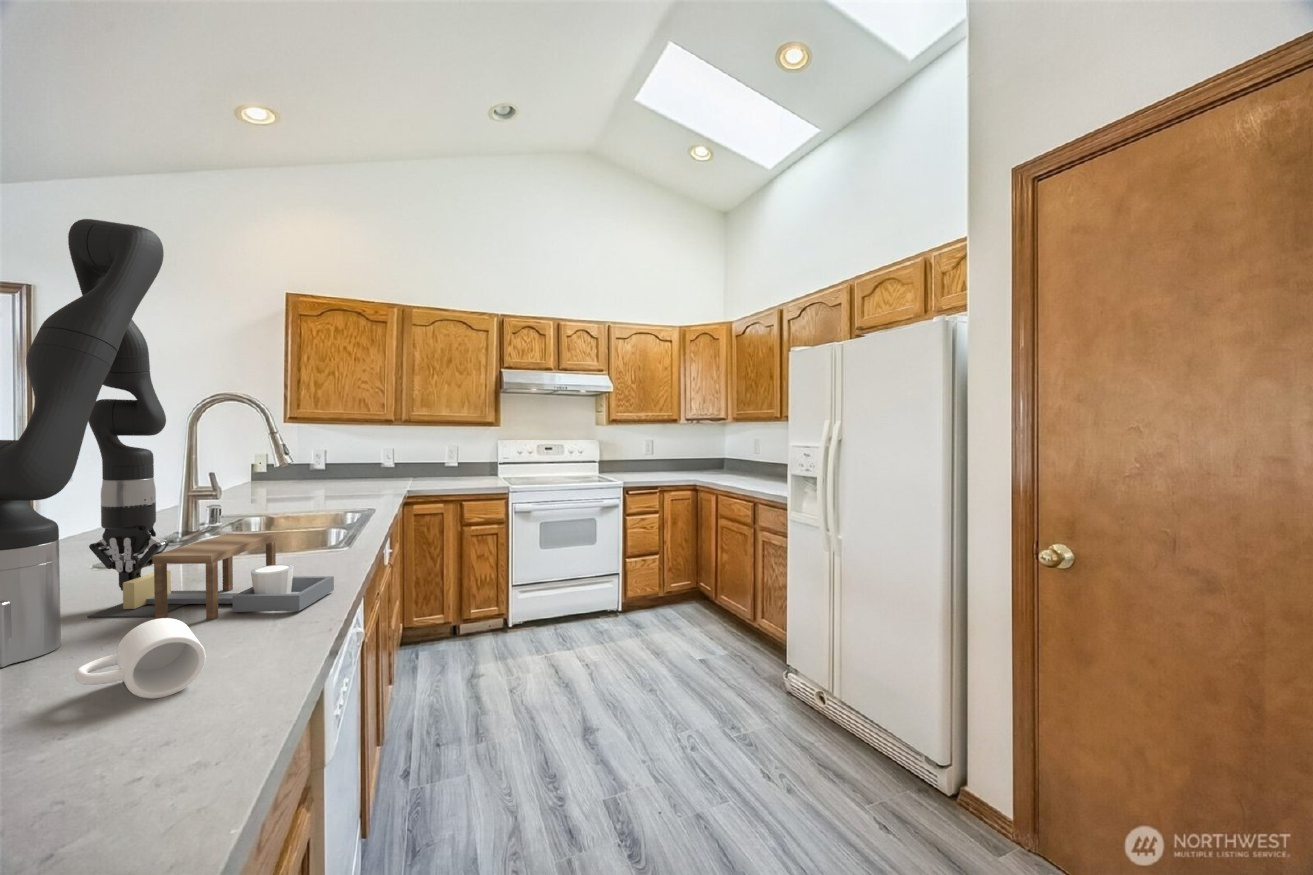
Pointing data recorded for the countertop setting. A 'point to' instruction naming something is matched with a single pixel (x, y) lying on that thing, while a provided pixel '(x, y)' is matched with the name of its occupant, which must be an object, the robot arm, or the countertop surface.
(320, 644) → the countertop surface
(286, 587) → the white cup
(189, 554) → the small wooden table
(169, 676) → the mug
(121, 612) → the mat
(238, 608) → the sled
